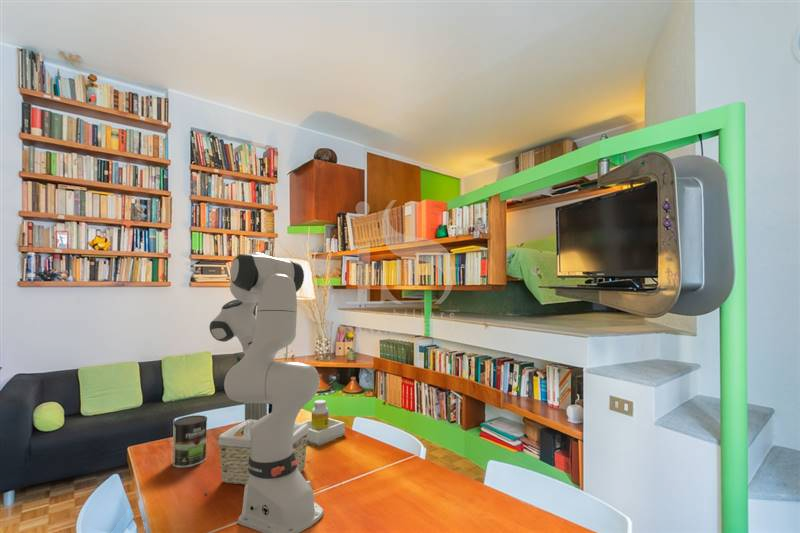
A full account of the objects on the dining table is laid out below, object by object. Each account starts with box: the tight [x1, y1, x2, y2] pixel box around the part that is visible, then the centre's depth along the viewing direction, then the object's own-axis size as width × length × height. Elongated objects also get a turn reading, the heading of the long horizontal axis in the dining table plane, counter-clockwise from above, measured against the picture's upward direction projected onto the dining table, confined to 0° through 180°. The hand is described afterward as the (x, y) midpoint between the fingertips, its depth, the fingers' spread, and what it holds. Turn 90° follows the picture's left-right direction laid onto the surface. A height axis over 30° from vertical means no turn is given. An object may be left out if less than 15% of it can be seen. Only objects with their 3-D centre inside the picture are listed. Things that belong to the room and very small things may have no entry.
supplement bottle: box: [311, 399, 329, 431], centre depth 157 cm, size 7×7×13 cm
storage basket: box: [217, 419, 309, 485], centre depth 125 cm, size 24×16×15 cm
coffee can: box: [172, 414, 208, 469], centre depth 136 cm, size 10×10×14 cm
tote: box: [301, 417, 346, 447], centre depth 157 cm, size 14×14×5 cm
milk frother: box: [243, 403, 272, 422], centre depth 163 cm, size 14×16×15 cm
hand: (272, 369), depth 147 cm, fingers open, 8 cm apart
